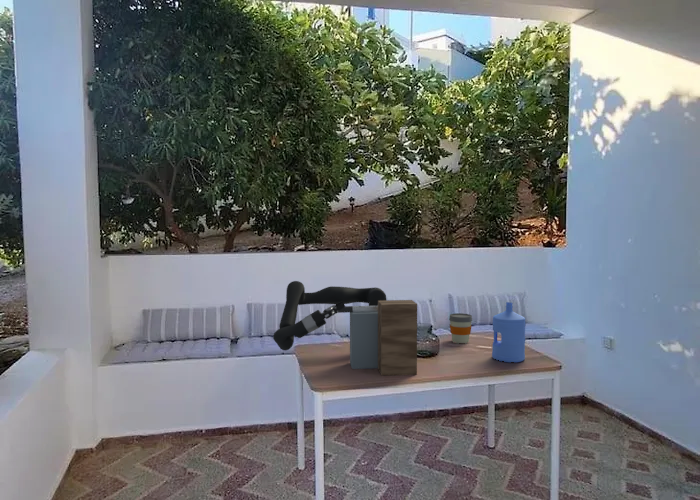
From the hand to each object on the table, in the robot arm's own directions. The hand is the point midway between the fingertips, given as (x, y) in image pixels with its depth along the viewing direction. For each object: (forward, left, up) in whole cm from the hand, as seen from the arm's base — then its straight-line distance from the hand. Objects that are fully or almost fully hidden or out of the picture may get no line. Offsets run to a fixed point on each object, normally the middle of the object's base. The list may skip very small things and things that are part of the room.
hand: (343, 303), depth 246 cm
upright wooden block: (+11, +23, -30) cm, 39 cm away
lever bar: (0, +7, -4) cm, 8 cm away
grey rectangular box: (0, +13, -30) cm, 33 cm away
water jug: (-4, +82, -30) cm, 88 cm away
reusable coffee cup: (-40, +69, -30) cm, 86 cm away
